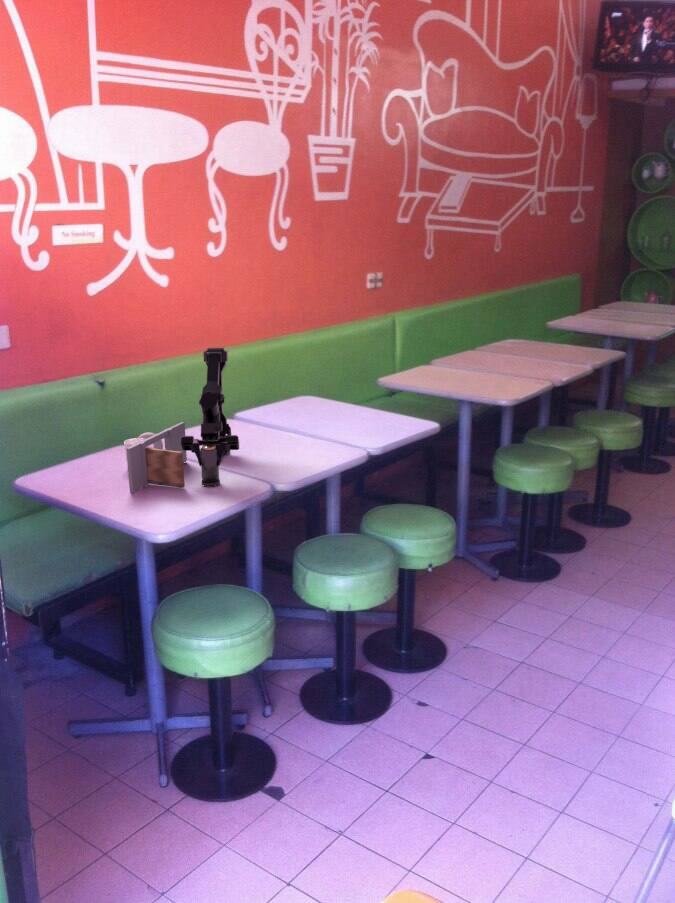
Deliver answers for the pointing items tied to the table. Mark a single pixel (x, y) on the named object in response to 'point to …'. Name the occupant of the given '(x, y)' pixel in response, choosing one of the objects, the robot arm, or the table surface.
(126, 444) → the white cup
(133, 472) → the wall frame
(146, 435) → the donut
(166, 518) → the table surface
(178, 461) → the door
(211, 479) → the dark metallic tumbler
